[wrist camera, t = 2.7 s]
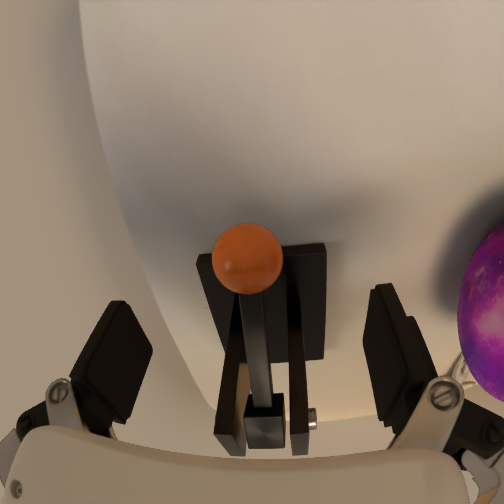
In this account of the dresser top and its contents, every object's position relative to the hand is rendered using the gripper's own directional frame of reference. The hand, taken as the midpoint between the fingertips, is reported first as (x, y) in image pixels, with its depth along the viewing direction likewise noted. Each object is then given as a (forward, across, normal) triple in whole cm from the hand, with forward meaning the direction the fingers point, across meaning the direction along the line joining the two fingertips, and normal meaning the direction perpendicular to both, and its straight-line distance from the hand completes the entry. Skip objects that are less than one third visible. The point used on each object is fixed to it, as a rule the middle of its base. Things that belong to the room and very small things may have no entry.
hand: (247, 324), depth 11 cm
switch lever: (+4, 0, +5) cm, 6 cm away
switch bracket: (+10, 0, +9) cm, 13 cm away
